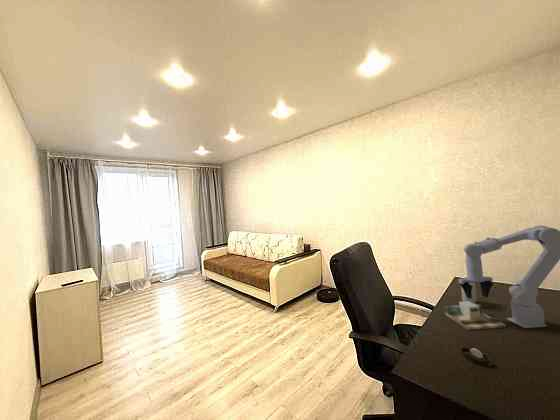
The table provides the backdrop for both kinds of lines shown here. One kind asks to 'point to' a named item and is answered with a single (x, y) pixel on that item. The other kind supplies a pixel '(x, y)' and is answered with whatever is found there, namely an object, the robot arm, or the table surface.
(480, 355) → the watch
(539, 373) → the table surface
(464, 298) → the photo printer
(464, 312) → the beige rectangular block
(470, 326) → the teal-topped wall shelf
